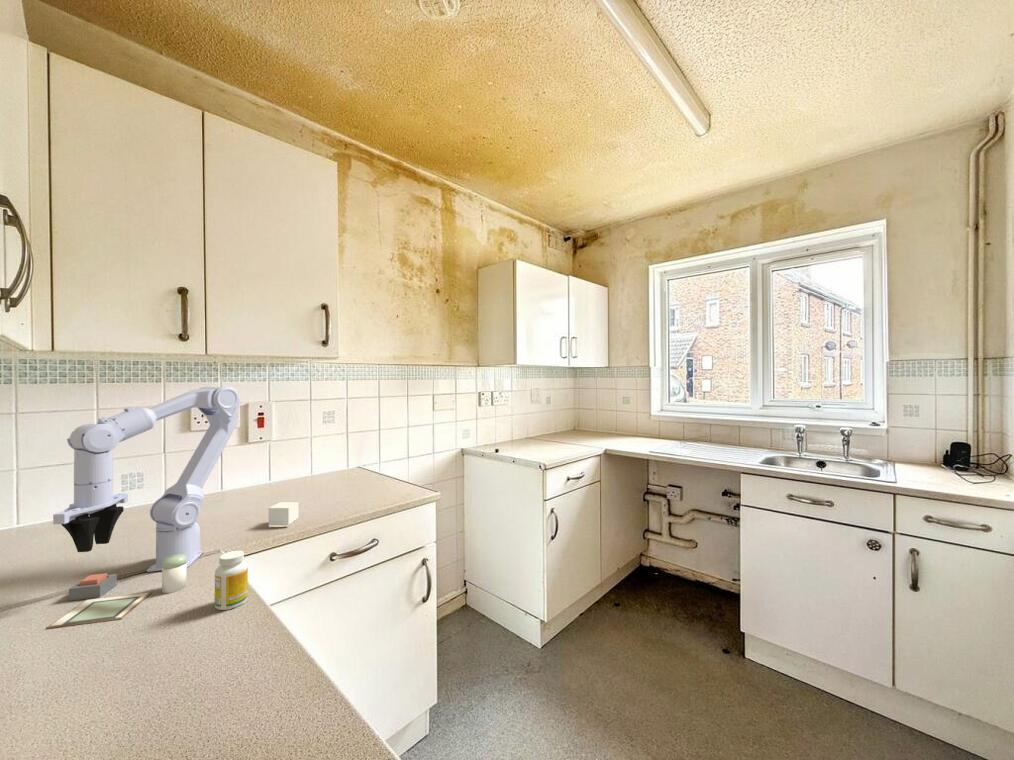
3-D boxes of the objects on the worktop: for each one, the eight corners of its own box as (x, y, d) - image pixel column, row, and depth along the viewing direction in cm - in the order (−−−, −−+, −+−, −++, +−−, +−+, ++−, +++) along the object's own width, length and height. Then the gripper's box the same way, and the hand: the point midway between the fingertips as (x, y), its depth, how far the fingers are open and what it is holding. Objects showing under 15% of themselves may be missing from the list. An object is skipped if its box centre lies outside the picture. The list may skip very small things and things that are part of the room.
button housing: (87, 588, 86) (87, 577, 86) (116, 585, 87) (116, 573, 87) (68, 600, 81) (68, 588, 81) (100, 597, 82) (100, 585, 82)
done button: (90, 580, 85) (90, 575, 85) (106, 579, 86) (106, 573, 86) (80, 587, 82) (80, 581, 82) (97, 585, 83) (97, 579, 83)
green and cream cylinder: (168, 585, 87) (168, 555, 87) (190, 582, 88) (190, 552, 88) (157, 594, 83) (157, 562, 83) (180, 591, 84) (180, 560, 84)
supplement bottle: (208, 611, 77) (208, 561, 77) (225, 597, 82) (224, 549, 82) (238, 610, 77) (238, 559, 77) (253, 595, 83) (253, 548, 83)
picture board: (86, 600, 81) (86, 599, 81) (151, 593, 84) (151, 591, 84) (46, 628, 72) (46, 627, 72) (121, 619, 75) (121, 617, 75)
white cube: (288, 528, 122) (288, 508, 122) (268, 528, 122) (268, 508, 122) (298, 521, 128) (298, 502, 128) (279, 521, 128) (279, 502, 128)
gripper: (104, 474, 91) (104, 534, 91) (35, 491, 77) (35, 563, 77) (138, 473, 92) (138, 533, 92) (76, 490, 77) (76, 561, 77)
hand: (93, 547), depth 84 cm, fingers open, 3 cm apart
